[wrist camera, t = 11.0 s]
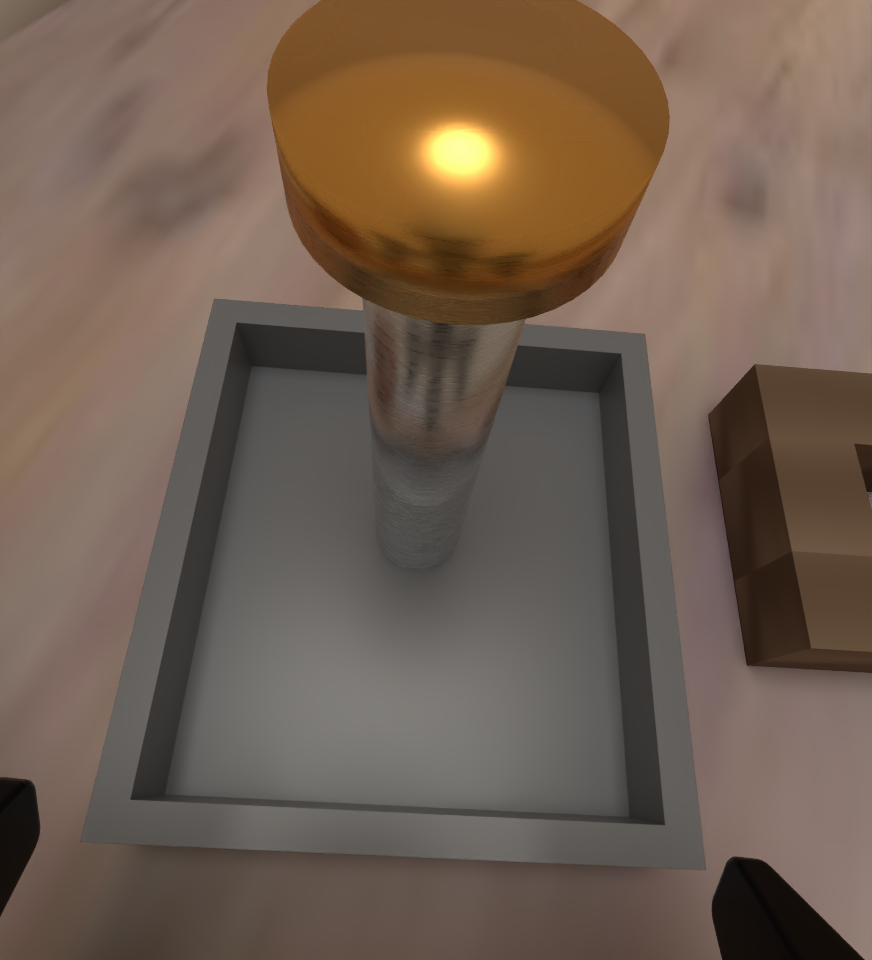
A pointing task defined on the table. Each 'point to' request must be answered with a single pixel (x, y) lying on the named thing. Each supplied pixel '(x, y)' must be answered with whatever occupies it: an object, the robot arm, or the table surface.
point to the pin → (456, 208)
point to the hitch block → (799, 514)
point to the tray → (406, 622)
